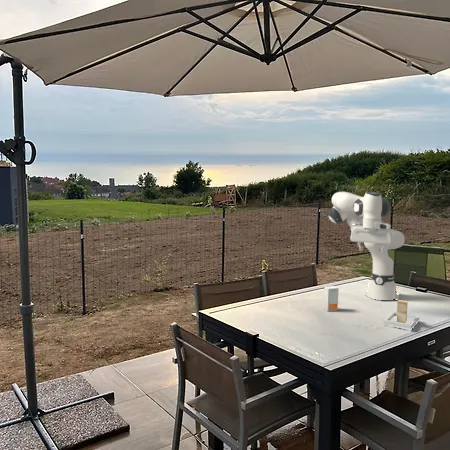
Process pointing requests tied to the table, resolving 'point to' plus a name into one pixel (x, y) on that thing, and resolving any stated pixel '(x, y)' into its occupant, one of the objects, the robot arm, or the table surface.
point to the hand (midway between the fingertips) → (370, 251)
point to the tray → (388, 322)
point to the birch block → (402, 311)
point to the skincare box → (331, 298)
